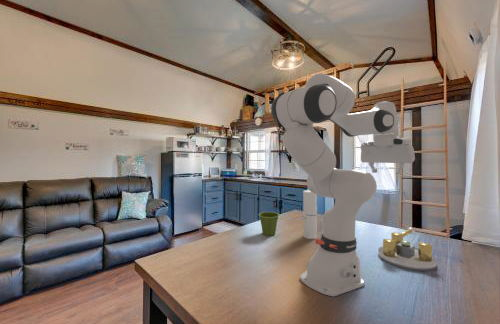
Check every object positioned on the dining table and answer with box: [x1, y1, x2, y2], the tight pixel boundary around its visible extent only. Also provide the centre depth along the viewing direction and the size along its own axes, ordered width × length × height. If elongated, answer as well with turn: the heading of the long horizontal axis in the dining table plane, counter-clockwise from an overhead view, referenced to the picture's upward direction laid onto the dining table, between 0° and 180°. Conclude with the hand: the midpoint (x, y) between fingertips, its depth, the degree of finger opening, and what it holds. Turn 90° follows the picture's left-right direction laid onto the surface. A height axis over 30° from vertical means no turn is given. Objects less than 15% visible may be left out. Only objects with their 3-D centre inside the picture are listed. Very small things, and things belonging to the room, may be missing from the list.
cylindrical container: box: [302, 189, 318, 240], centre depth 122 cm, size 7×7×25 cm
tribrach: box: [377, 238, 437, 272], centre depth 95 cm, size 20×20×8 cm
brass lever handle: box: [390, 227, 415, 248], centre depth 106 cm, size 20×4×6 cm, turn 126°
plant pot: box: [258, 211, 280, 237], centre depth 127 cm, size 12×12×11 cm
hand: (386, 173), depth 96 cm, fingers open, 8 cm apart
